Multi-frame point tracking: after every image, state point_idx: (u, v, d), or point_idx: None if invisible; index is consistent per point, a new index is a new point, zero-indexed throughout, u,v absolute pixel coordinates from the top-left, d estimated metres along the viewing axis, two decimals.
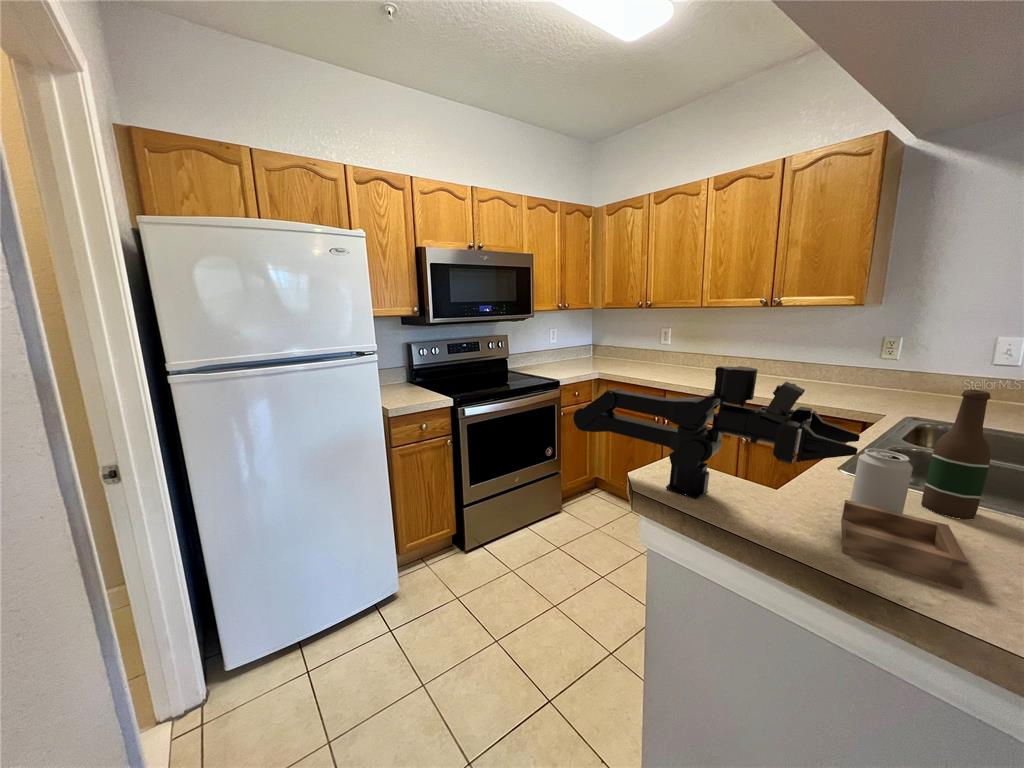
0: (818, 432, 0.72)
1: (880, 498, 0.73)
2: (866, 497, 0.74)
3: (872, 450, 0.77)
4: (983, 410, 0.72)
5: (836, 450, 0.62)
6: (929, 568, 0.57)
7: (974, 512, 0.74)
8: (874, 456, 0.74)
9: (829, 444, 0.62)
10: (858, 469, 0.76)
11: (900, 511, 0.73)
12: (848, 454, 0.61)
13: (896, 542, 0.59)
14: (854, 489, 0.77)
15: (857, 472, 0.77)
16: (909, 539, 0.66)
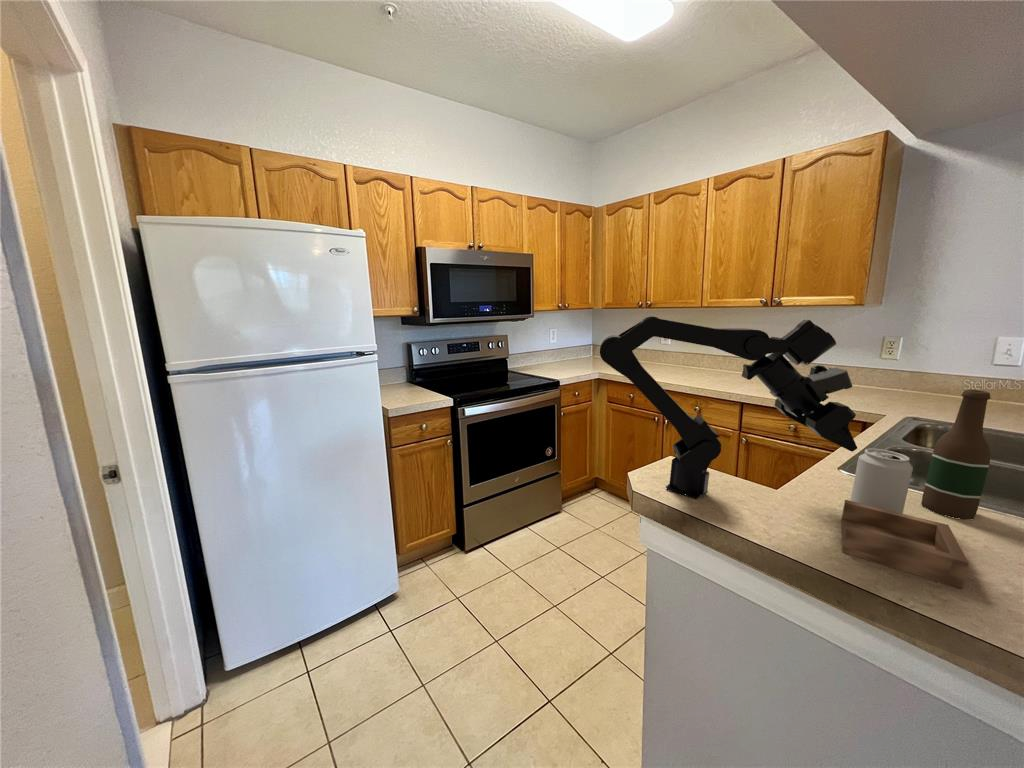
0: (805, 414, 0.81)
1: (880, 498, 0.73)
2: (866, 497, 0.74)
3: (872, 450, 0.77)
4: (983, 410, 0.72)
5: (846, 442, 0.71)
6: (929, 568, 0.57)
7: (974, 512, 0.74)
8: (874, 456, 0.74)
9: (848, 436, 0.70)
10: (858, 469, 0.76)
11: (900, 511, 0.73)
12: (849, 449, 0.71)
13: (896, 542, 0.59)
14: (854, 489, 0.77)
15: (857, 472, 0.77)
16: (909, 539, 0.66)
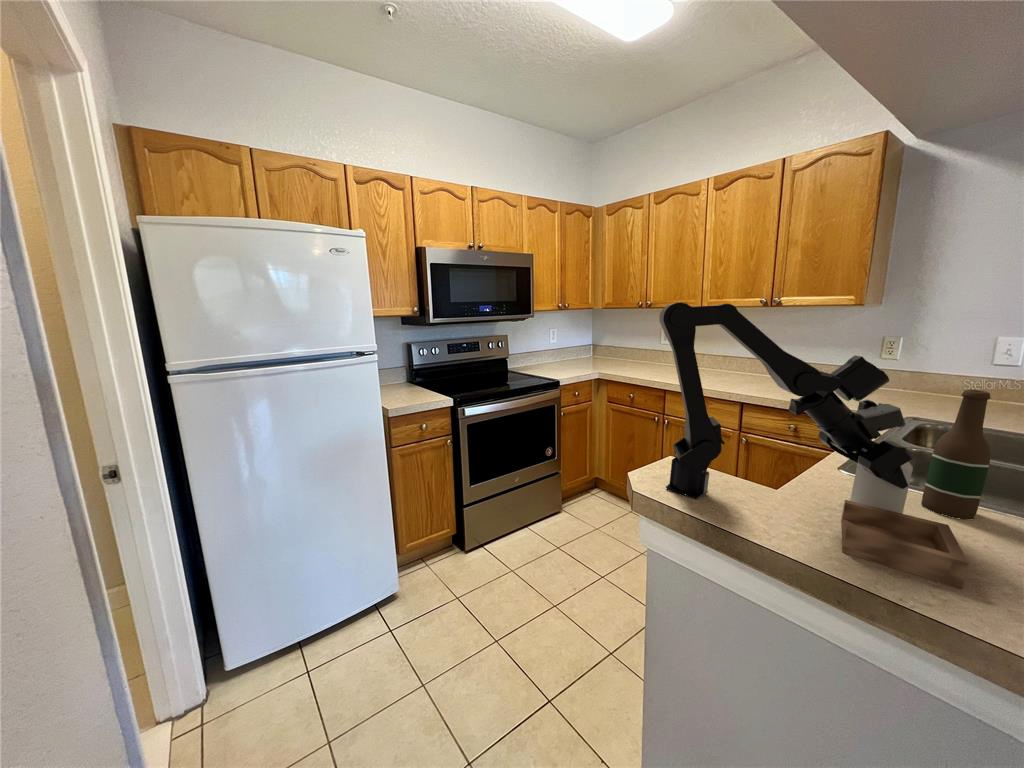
0: None
1: (880, 498, 0.73)
2: (866, 497, 0.74)
3: None
4: (983, 410, 0.72)
5: (897, 480, 0.70)
6: (929, 568, 0.57)
7: (974, 512, 0.74)
8: None
9: (899, 474, 0.70)
10: (858, 469, 0.76)
11: (900, 511, 0.73)
12: (899, 486, 0.71)
13: (896, 542, 0.59)
14: (854, 489, 0.77)
15: (857, 472, 0.77)
16: (909, 539, 0.66)
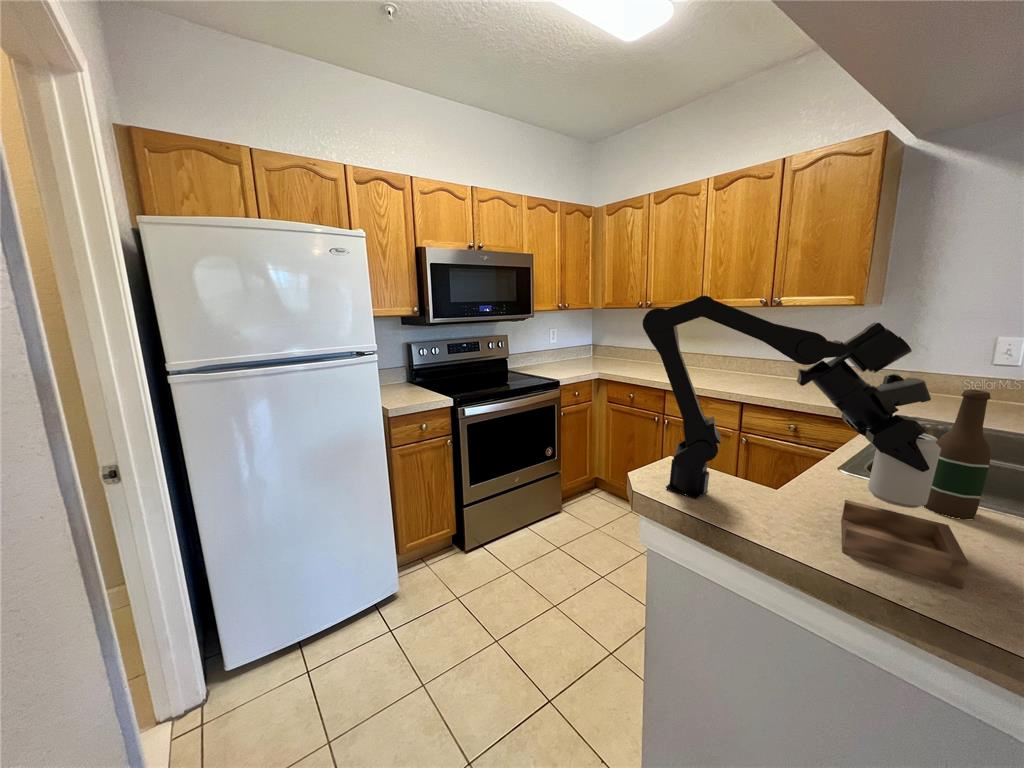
0: None
1: (896, 481, 0.66)
2: (881, 480, 0.67)
3: None
4: (983, 410, 0.72)
5: (915, 460, 0.63)
6: (929, 568, 0.57)
7: (974, 512, 0.74)
8: None
9: (916, 453, 0.62)
10: (876, 450, 0.69)
11: (922, 498, 0.65)
12: (918, 468, 0.63)
13: (896, 542, 0.59)
14: (871, 472, 0.70)
15: (875, 453, 0.69)
16: (909, 539, 0.66)
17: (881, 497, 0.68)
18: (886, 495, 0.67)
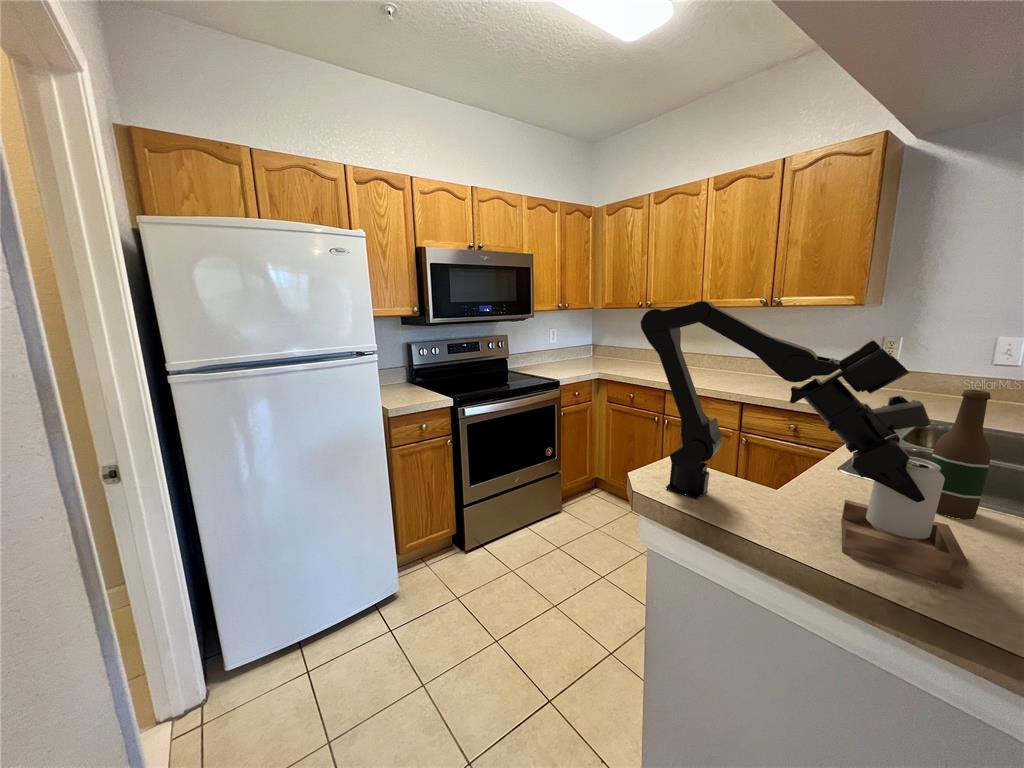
0: None
1: (890, 510, 0.61)
2: (876, 508, 0.63)
3: None
4: (983, 410, 0.72)
5: (907, 489, 0.59)
6: (929, 568, 0.57)
7: (974, 512, 0.74)
8: None
9: (908, 482, 0.58)
10: None
11: (919, 531, 0.60)
12: (912, 498, 0.59)
13: (896, 542, 0.59)
14: None
15: None
16: None
17: (875, 526, 0.64)
18: (880, 524, 0.63)
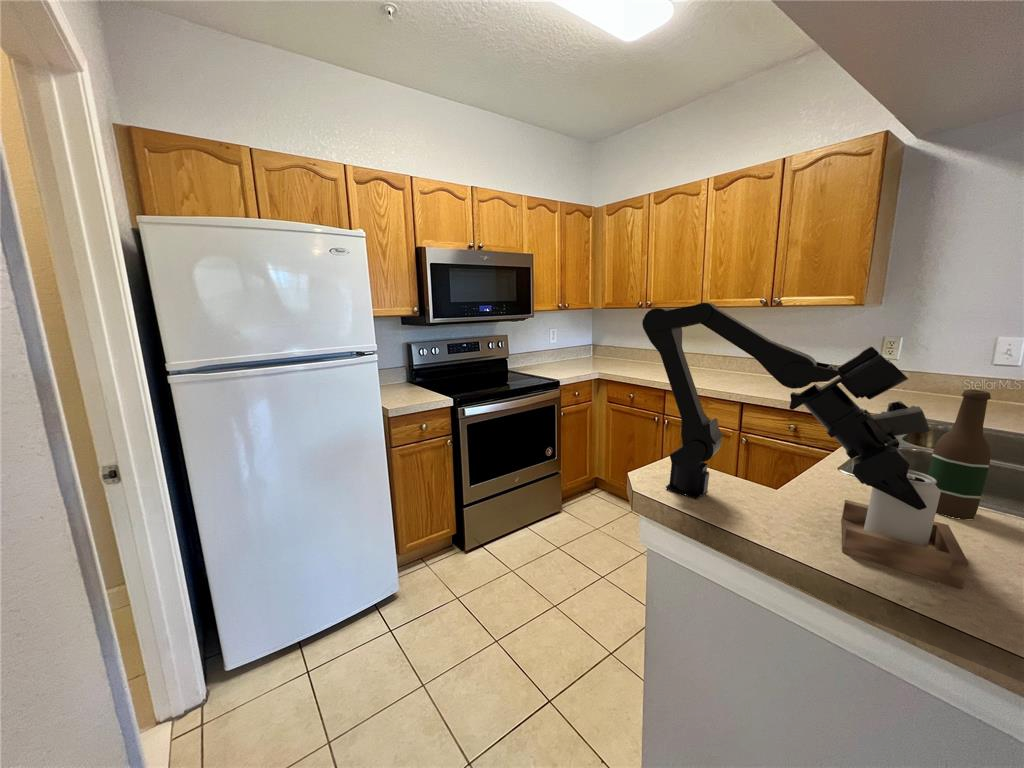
0: None
1: (887, 523, 0.62)
2: (873, 521, 0.64)
3: None
4: (983, 410, 0.72)
5: (908, 497, 0.58)
6: (929, 568, 0.57)
7: (974, 512, 0.74)
8: None
9: (909, 489, 0.58)
10: (872, 488, 0.65)
11: None
12: (913, 505, 0.58)
13: (896, 542, 0.59)
14: (867, 511, 0.66)
15: (871, 492, 0.66)
16: None
17: None
18: None
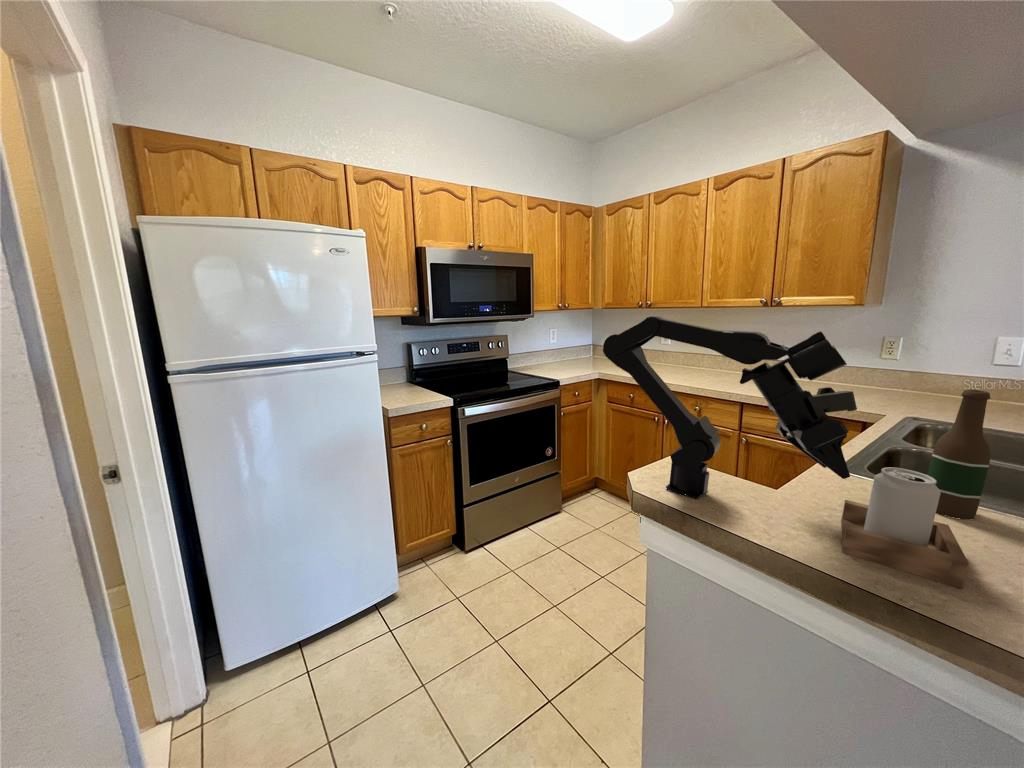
0: None
1: (887, 524, 0.62)
2: (873, 521, 0.64)
3: (898, 470, 0.65)
4: (983, 410, 0.72)
5: (837, 466, 0.64)
6: (929, 568, 0.57)
7: (974, 512, 0.74)
8: (885, 474, 0.63)
9: (840, 458, 0.64)
10: (872, 488, 0.65)
11: None
12: (840, 474, 0.64)
13: (896, 542, 0.59)
14: (867, 512, 0.66)
15: (871, 492, 0.66)
16: None
17: None
18: None
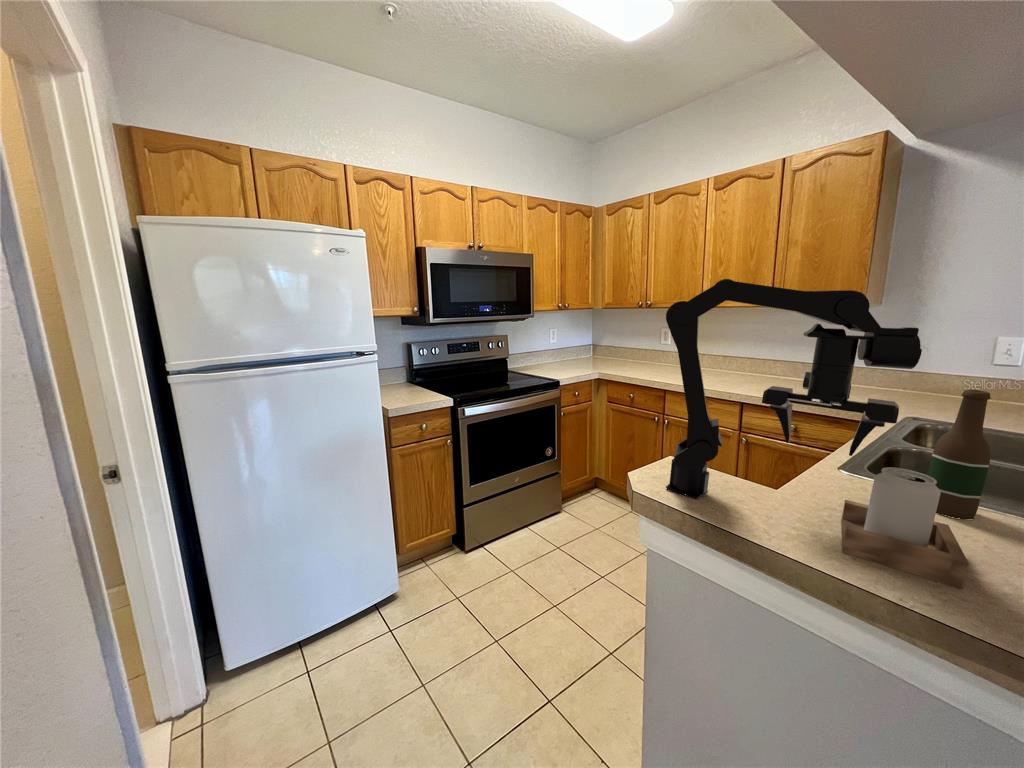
0: (789, 414, 0.75)
1: (887, 524, 0.62)
2: (873, 521, 0.64)
3: (898, 470, 0.65)
4: (983, 410, 0.72)
5: None
6: (929, 568, 0.57)
7: (974, 512, 0.74)
8: (885, 474, 0.63)
9: None
10: (872, 489, 0.65)
11: None
12: (854, 451, 0.69)
13: (896, 542, 0.59)
14: (867, 512, 0.66)
15: (871, 492, 0.66)
16: None
17: None
18: None
